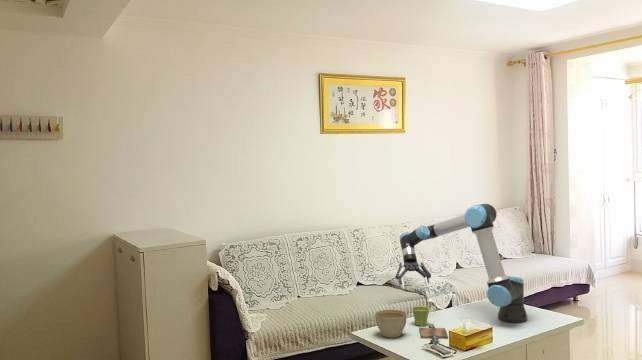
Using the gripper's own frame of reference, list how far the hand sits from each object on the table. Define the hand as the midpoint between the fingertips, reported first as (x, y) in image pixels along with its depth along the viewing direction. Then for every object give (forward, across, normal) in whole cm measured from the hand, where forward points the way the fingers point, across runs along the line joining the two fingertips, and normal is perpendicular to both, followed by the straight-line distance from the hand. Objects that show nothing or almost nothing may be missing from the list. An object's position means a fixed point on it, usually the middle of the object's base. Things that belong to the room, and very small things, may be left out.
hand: (415, 288), depth 298 cm
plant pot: (+20, 0, -3) cm, 20 cm away
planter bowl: (+31, +19, +7) cm, 37 cm away
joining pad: (+32, -2, +9) cm, 33 cm away
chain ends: (+33, -2, +10) cm, 34 cm away
